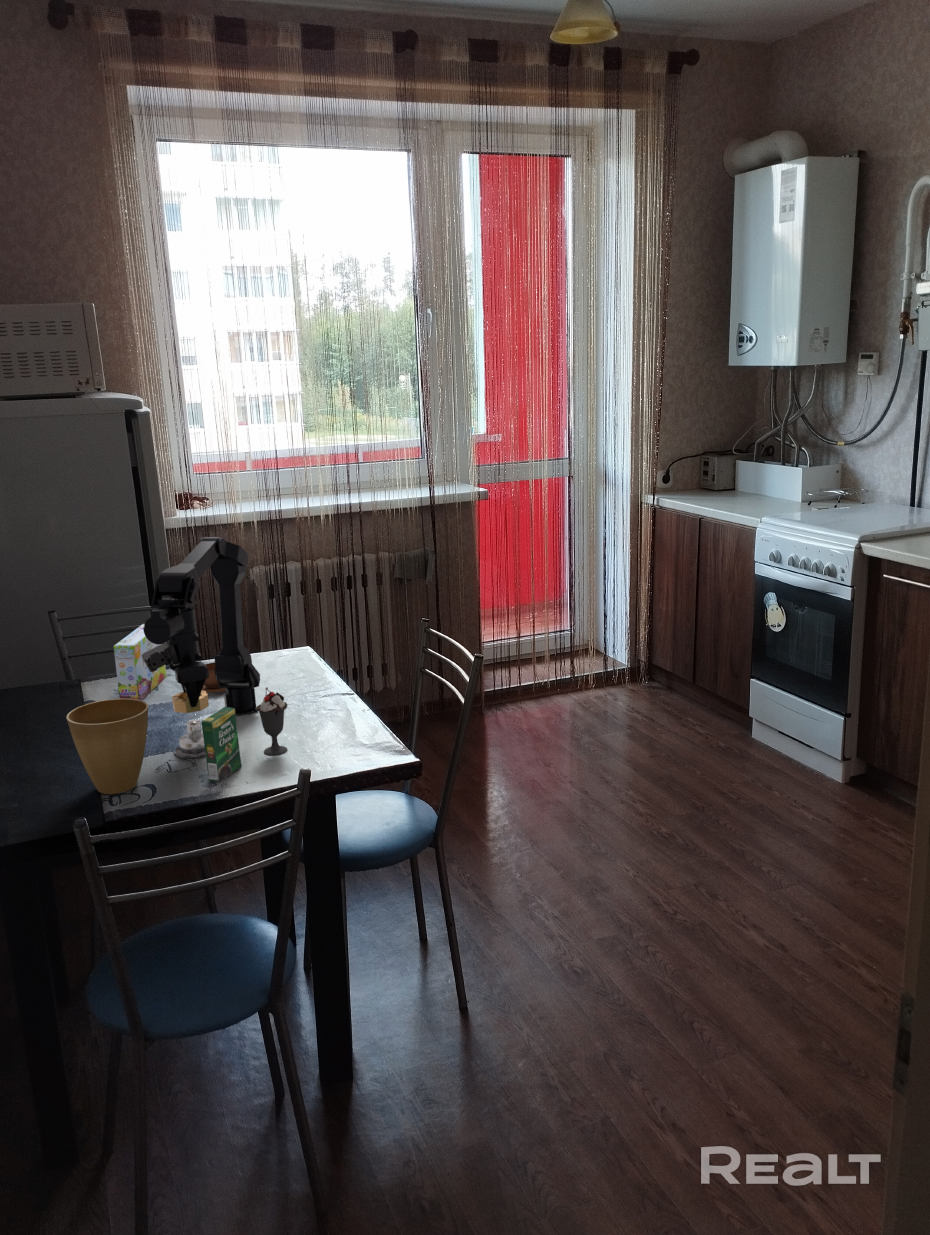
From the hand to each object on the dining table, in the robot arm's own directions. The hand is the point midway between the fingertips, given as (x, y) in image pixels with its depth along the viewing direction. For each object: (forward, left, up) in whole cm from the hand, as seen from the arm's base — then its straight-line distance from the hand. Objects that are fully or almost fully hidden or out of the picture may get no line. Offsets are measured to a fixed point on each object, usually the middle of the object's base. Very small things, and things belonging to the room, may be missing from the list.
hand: (190, 701), depth 203 cm
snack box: (+5, -49, -11) cm, 50 cm away
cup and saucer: (-12, -40, -12) cm, 43 cm away
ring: (0, 0, -1) cm, 1 cm away
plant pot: (+17, +11, -11) cm, 23 cm away
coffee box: (-3, +16, -11) cm, 20 cm away
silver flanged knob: (0, 0, -11) cm, 11 cm away
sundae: (-15, +9, -11) cm, 21 cm away
